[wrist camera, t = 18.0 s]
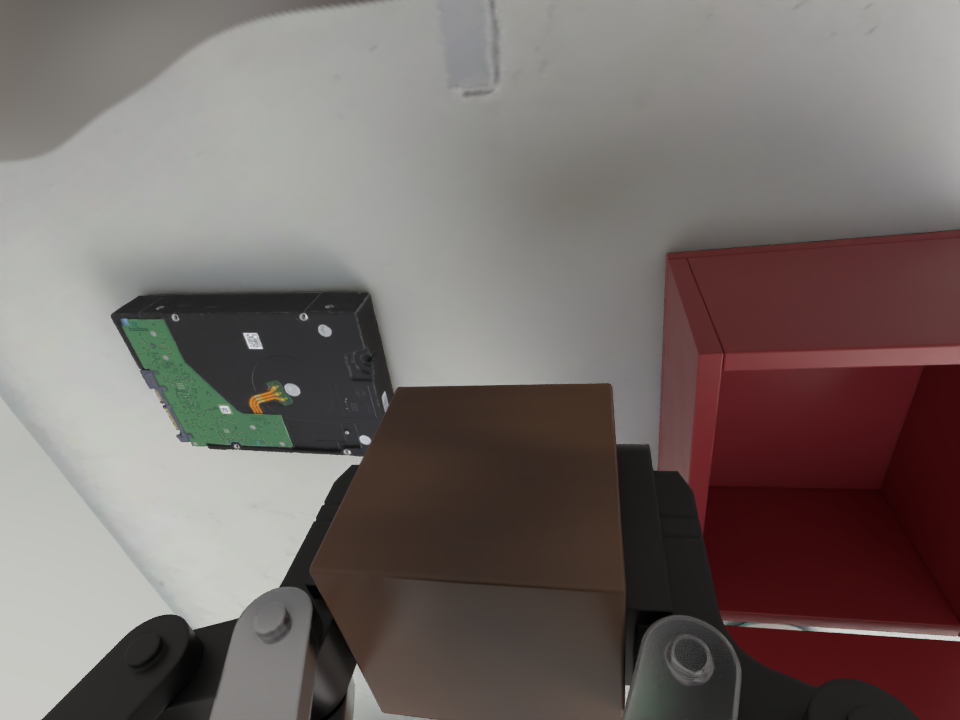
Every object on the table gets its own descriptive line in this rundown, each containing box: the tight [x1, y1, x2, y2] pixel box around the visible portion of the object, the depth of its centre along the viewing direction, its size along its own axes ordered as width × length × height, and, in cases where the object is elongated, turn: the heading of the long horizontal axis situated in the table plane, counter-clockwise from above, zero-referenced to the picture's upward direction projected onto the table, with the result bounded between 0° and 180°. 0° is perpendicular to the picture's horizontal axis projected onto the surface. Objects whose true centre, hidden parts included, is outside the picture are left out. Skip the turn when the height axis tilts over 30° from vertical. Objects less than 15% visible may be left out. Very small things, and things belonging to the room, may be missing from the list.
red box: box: [658, 230, 960, 637], centre depth 24 cm, size 16×13×9 cm
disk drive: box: [111, 292, 394, 457], centre depth 32 cm, size 10×3×15 cm
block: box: [309, 383, 626, 720], centre depth 10 cm, size 4×4×4 cm
